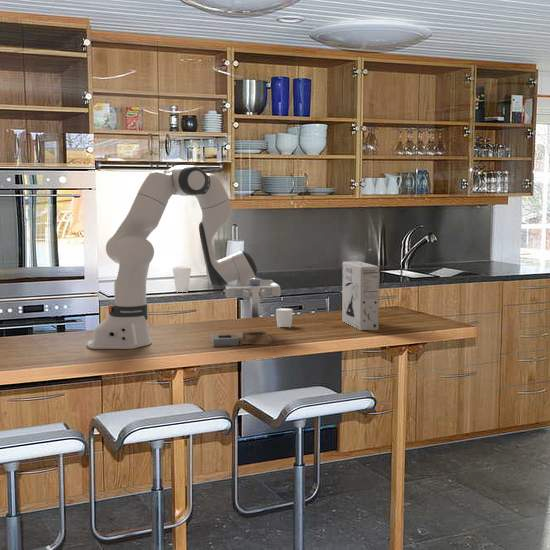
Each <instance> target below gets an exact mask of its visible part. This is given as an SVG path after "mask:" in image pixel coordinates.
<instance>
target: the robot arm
mask: <svg viewBox="0 0 550 550" xmlns="http://www.w3.org/2000/svg"><path fill="white" fill-rule="evenodd" d="M173 195H176V196H177V195H179V196H182V197H183V196H184V197H187V196H188V197H189V196H193V197H195V198H196V199H197V202H198V204H199V207H200V210H201V214H202V217H201V221H200V222H199V224H198V231H199V232H198V233H199V236H200V238H199V239H200V244H201V248H202V249H201V250H202V253H203V259H204V263H205V267H206V268H205V272H206V278H207V281H208V282H209V283H210V285H211V286H212V287H216V288H223V287H225V286H226V285H227V286H226V287H225V288H223V293H225V297H226V298H229V299H231V298H242V299H243V300H244V301H247V302H250V296H251V292H250V278H257V274H258V269H257V265H256V263H255V261H254V259H253V257H252V256H251V255H250V254H249V253H248V252H247V251H244V250H239V251H236V252H234V253H232V254H230V255H228V256H226V257H225V256H224V257H223V258H220V259H216V257H215V256H216V255H215V250H214V245H213V239H214V237H215V235H216V234H217V232H219V231H220V230H221V229H223V227H224V226H225V225H227V223H228V222H229V220H230V219H231V217H232V213H233V208H232V204H231V201H230V198H229V196H228V193H227V191H226V189H225V187H224V185H223V183H222V182H221V180H220V179H219V176H217V175H216V174H215V173H206V172H205V170H203V169H202V168H200V167H199V166H196V165H193V164H192V165H191V164H190V165H188V164H179V165H172V166H170V167H168V168H167V169H165V170H164V171H162V170H161V171H160V170H154V171H151V172H150V173H149V174H148V175H147V177H146V178H145V179H144V181H143V182H142V184H141V186H140V188H139V190H138V191H137V194H136V196H135V198H134V200H133V202H132V205H131V207H130V209H129V211H128V213H127V215H126V216H125V218H124V219H123V221H122V223H121V224H119V225H120V226H119V227H118V228H117V229H116V231H115V233H114V234H113V235H112V236H111V237H110V238H109V239H108V240H107V242H106V245H105V251H106V254H107V256H108V258H109V259H111V261H112V262H114V263H116V264H119V265H118V272H117V276H116V279H115V281H114V304H109V305H108V306H107V307H108V308H107V309H108V315H109V316H107V317H106V318H104V320H102V321H101V322H100V323H98V324H97V326H95V328H94V331H93V336H92V339H89V340H88V341H87V343H86V347H87V348H88V349H92V350H93V349H96V350H99V349H102V350H103V349H104V350H105V349H106V350H107V349H110V350H112V349H113V350H115V349H116V350H117V349H118V350H124V349H125V350H130V349H131V350H132V349H133V350H134V349H137V348H140V347H146V346H149V345H151V344H152V339H151V336H150V331H149V325H148V323H149V322H148V320H149V319H148V318H149V307H148V304H147V279H148V274H149V273H148V272H149V268H150V264H151V262H152V260H153V259H154V256H155V248H154V245H153V244H152V242H151V241H149V240H148V238H149V236H150V235H151V234H152V232H154V230H156V228H158V226H159V223H160V222H161V219H162V217H163V214H164V212H165V210H166V208H167V206H168V203H169V200H170V199H171V197H172V196H173ZM232 282H235V284H234V285H228V284H230V283H232ZM281 291H282V290H281V286H280V285H279V284H278V283H277V282H274V280H272V279H264V278H260V300H261V299H266V298H273V297H281Z"/></svg>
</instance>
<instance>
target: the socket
mask: <svg viewBox="0 0 550 550" xmlns="http://www.w3.org/2000/svg"><path fill="white" fill-rule="evenodd" d="M210 337H211V338H210V339H211V341H210V342H211V345H212V346H213V347H233V346H234V347H235V346H236V347H237V345H239V346H240V344H239V338H238V337H239V336H238V334H237V333H225V334H223V333H221V334H219V333H218V334H211V336H210Z"/></svg>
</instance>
